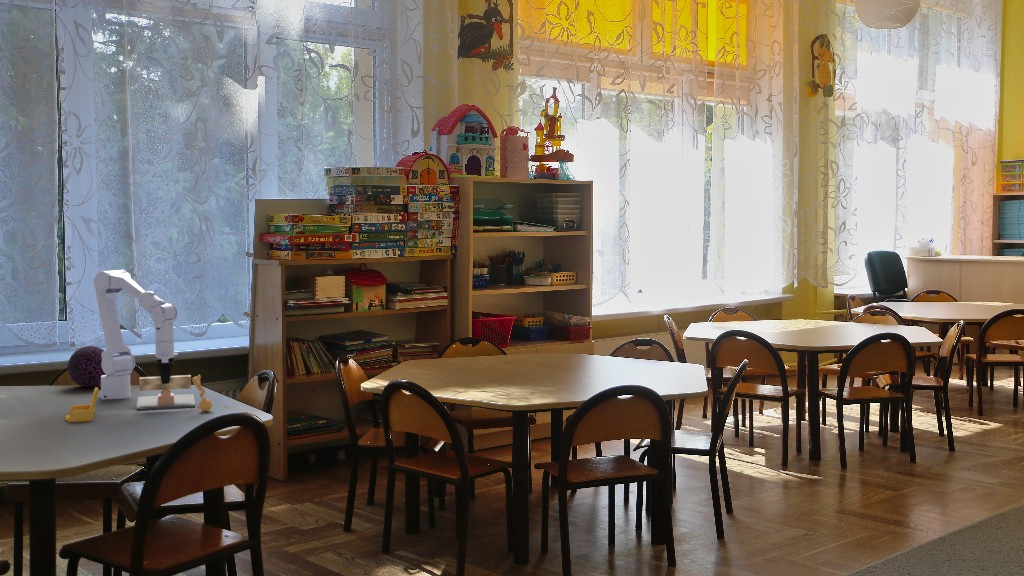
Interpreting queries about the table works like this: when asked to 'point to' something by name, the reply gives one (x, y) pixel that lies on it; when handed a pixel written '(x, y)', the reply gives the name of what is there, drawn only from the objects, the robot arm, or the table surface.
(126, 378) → the robot arm
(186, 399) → the board
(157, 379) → the pine batten
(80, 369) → the toy ball
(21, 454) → the table surface
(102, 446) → the table surface
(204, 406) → the figurine
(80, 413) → the yellow toy chair
